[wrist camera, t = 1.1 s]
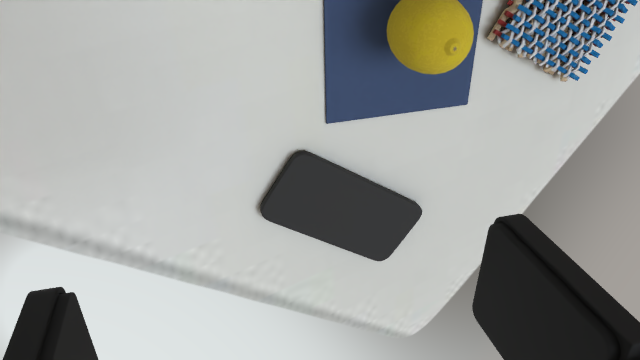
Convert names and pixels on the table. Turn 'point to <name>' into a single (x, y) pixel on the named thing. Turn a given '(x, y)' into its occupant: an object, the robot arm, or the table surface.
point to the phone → (339, 207)
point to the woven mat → (557, 31)
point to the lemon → (430, 34)
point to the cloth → (382, 65)
